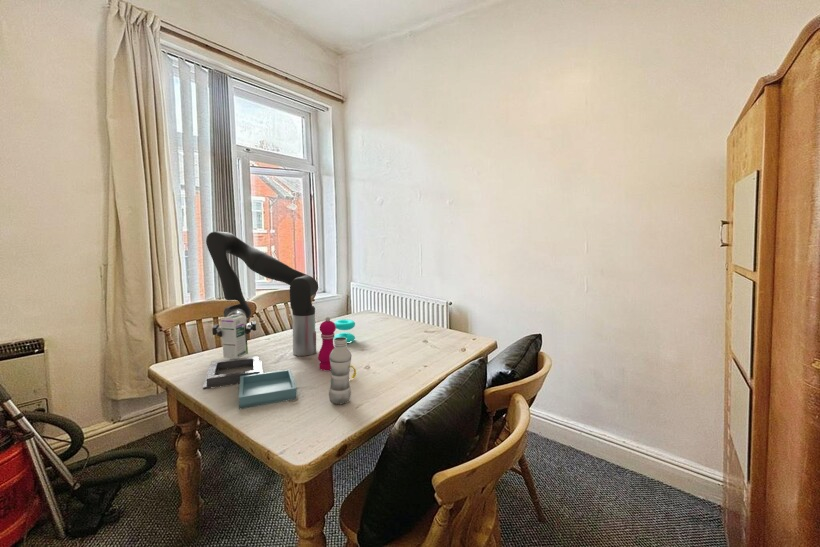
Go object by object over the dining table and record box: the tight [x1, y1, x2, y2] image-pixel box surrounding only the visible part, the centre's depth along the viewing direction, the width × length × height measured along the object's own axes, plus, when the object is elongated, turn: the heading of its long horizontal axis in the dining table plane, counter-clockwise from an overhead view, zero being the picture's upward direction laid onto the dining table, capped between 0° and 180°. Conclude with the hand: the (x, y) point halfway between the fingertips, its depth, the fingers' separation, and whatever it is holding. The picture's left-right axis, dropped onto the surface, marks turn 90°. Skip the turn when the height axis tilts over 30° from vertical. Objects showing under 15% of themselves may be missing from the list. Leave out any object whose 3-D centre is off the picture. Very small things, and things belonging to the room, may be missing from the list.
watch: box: [350, 363, 357, 379], centre depth 118 cm, size 6×3×6 cm, turn 119°
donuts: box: [333, 318, 356, 342], centre depth 160 cm, size 10×10×10 cm
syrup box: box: [220, 315, 249, 360], centre depth 119 cm, size 6×6×14 cm
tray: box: [238, 368, 298, 410], centre depth 107 cm, size 16×16×4 cm
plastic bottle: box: [328, 337, 353, 405], centre depth 102 cm, size 6×7×20 cm
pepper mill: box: [317, 316, 337, 371], centre depth 128 cm, size 7×7×20 cm
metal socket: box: [202, 355, 264, 389], centre depth 120 cm, size 18×18×3 cm
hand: (234, 332), depth 117 cm, fingers closed on syrup box, 8 cm apart
